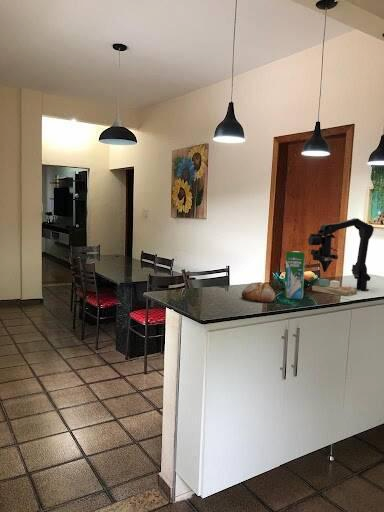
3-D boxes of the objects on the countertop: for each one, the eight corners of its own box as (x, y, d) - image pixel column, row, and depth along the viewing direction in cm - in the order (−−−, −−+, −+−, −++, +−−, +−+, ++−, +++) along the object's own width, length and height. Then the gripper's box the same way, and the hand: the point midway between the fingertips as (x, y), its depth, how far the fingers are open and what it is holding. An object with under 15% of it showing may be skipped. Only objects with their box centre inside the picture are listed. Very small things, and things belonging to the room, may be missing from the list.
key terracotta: (344, 291, 236) (344, 285, 236) (350, 293, 233) (351, 286, 233) (340, 292, 233) (340, 286, 233) (347, 293, 230) (347, 287, 230)
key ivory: (333, 286, 241) (333, 280, 241) (339, 287, 238) (339, 281, 238) (329, 287, 238) (329, 280, 238) (335, 288, 235) (336, 281, 235)
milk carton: (303, 296, 223) (305, 250, 221) (301, 299, 215) (304, 252, 212) (286, 295, 226) (288, 250, 224) (284, 298, 218) (286, 251, 215)
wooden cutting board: (322, 288, 251) (323, 284, 250) (357, 293, 234) (357, 289, 234) (311, 290, 243) (312, 286, 242) (346, 296, 226) (347, 291, 226)
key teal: (322, 284, 246) (322, 278, 246) (328, 285, 243) (328, 279, 243) (318, 285, 243) (319, 279, 243) (324, 286, 240) (325, 280, 240)
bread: (258, 306, 201) (258, 286, 200) (234, 298, 218) (234, 280, 217) (283, 301, 210) (283, 282, 208) (258, 294, 226) (258, 276, 225)
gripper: (322, 244, 253) (321, 269, 255) (305, 245, 241) (304, 271, 242) (339, 245, 245) (337, 271, 246) (322, 246, 232) (320, 273, 234)
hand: (324, 271), depth 242 cm, fingers closed
